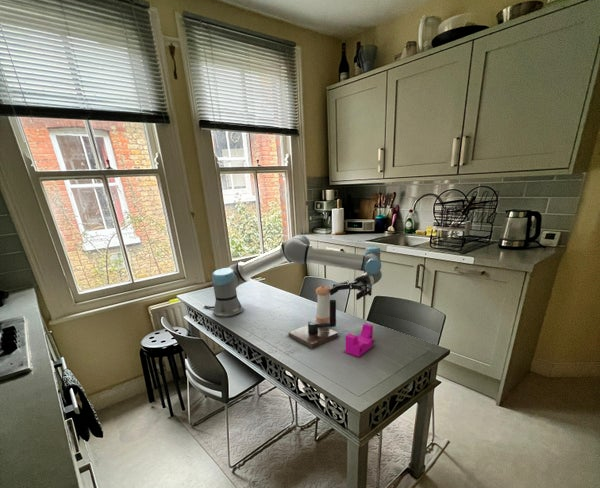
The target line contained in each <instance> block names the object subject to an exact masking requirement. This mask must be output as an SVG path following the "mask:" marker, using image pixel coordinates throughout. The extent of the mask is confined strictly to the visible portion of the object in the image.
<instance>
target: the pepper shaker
mask: <svg viewBox="0 0 600 488" xmlns="http://www.w3.org/2000/svg"><path fill="white" fill-rule="evenodd" d="M330 289H331V288H330V287H329V286H326V285H323V284H322V285H321V286H318V287H317V288H316V289H315V294H316V296H317V299H316V300H317V301H316V302H317V303H316V316H315V321H317V322H318V323H330V302H329V301H330Z"/></svg>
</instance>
